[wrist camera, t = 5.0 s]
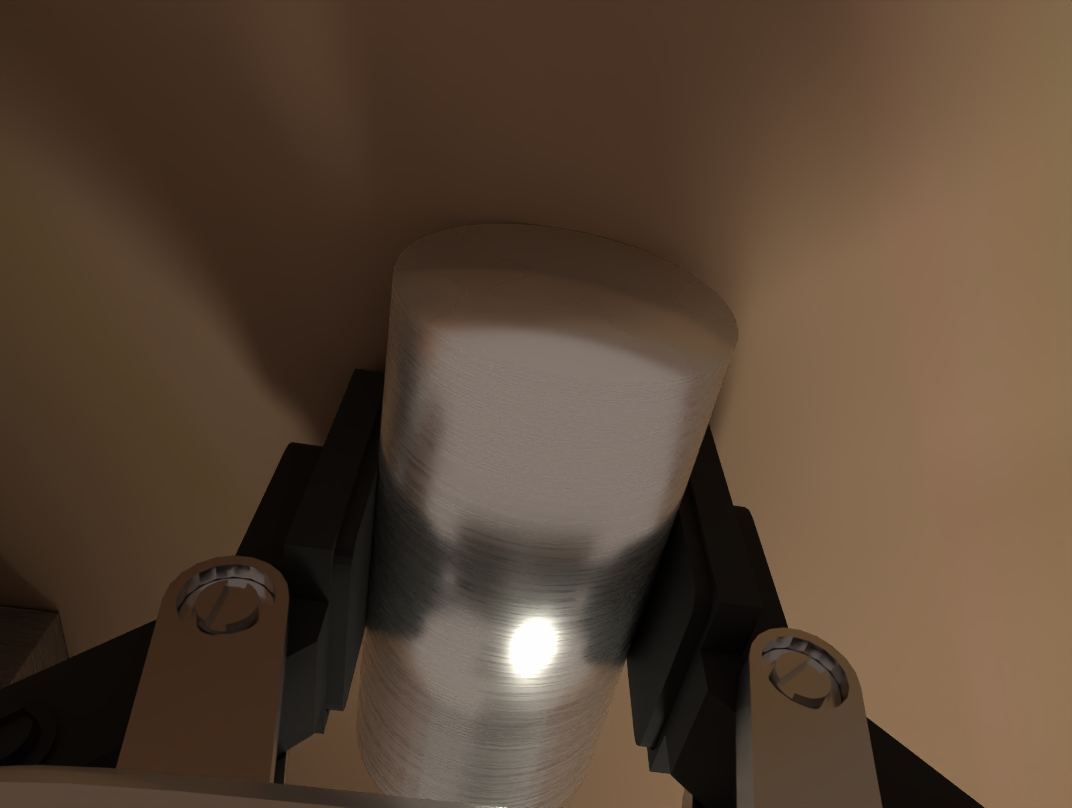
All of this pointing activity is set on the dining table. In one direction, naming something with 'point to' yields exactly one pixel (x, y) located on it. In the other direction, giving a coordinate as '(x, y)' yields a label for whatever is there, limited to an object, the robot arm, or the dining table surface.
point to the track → (28, 643)
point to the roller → (523, 500)
